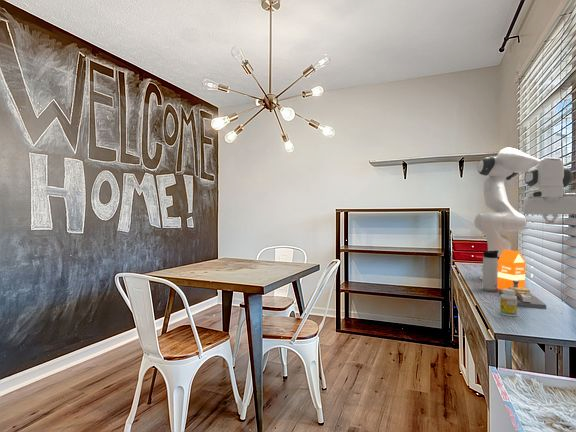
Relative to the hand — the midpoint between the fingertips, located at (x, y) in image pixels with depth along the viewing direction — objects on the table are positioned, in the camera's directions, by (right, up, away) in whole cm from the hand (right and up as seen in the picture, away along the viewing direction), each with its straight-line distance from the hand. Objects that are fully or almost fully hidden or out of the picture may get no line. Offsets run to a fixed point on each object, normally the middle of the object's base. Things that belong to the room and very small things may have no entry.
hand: (549, 224), depth 151 cm
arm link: (-14, -32, -1) cm, 35 cm away
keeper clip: (-15, -33, -2) cm, 36 cm away
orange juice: (-5, -34, +19) cm, 39 cm away
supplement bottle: (-32, -35, -21) cm, 52 cm away
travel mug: (-16, -34, +18) cm, 41 cm away
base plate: (-13, -34, 0) cm, 36 cm away
